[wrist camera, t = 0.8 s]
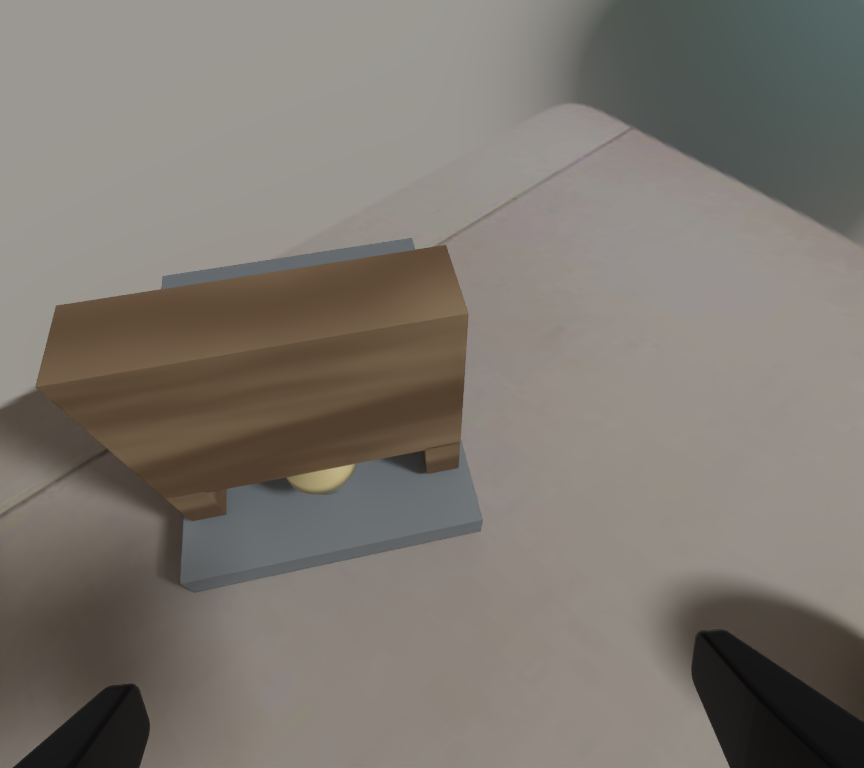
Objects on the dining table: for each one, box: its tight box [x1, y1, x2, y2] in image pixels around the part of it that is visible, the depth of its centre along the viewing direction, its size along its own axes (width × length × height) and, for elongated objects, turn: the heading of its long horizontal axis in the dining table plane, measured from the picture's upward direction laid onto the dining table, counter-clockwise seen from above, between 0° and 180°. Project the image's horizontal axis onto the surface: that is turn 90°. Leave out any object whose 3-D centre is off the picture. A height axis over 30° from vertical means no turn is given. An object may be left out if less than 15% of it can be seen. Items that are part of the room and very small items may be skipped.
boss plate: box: [161, 238, 483, 592], centre depth 25 cm, size 13×13×6 cm
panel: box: [36, 245, 468, 521], centre depth 20 cm, size 3×12×11 cm, turn 102°
